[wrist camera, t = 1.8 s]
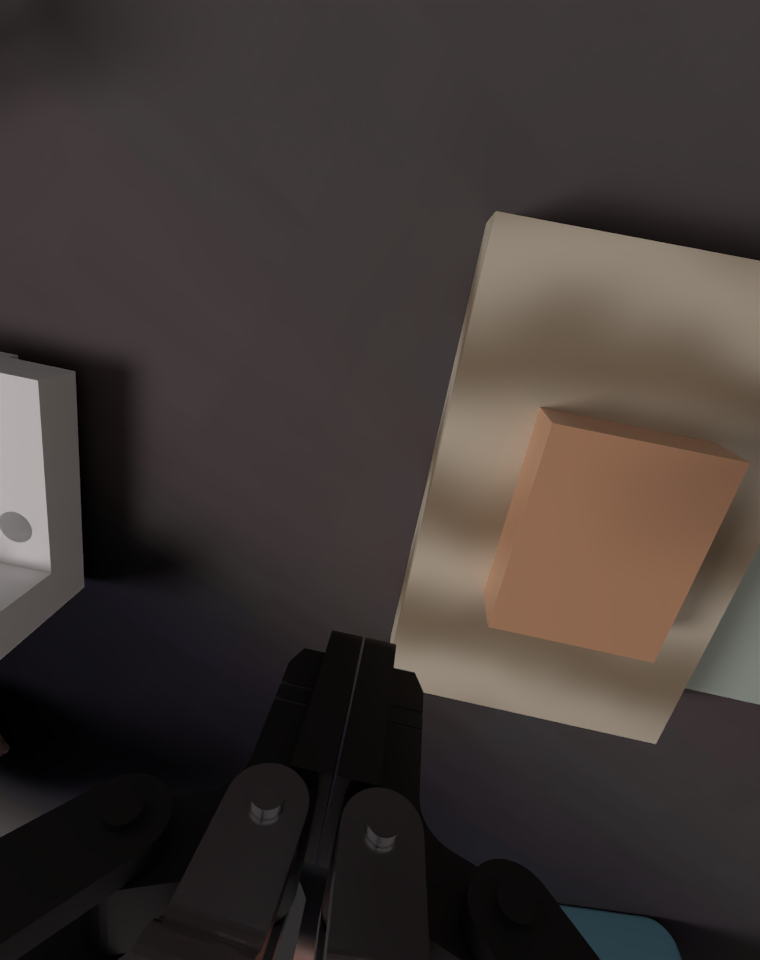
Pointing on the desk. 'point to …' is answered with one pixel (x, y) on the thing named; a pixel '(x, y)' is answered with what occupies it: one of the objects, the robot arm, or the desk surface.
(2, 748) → the clay figurine
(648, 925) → the data package
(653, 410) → the light wood flat block
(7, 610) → the bracket
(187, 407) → the desk surface
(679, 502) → the tile
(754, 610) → the mat
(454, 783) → the desk surface
